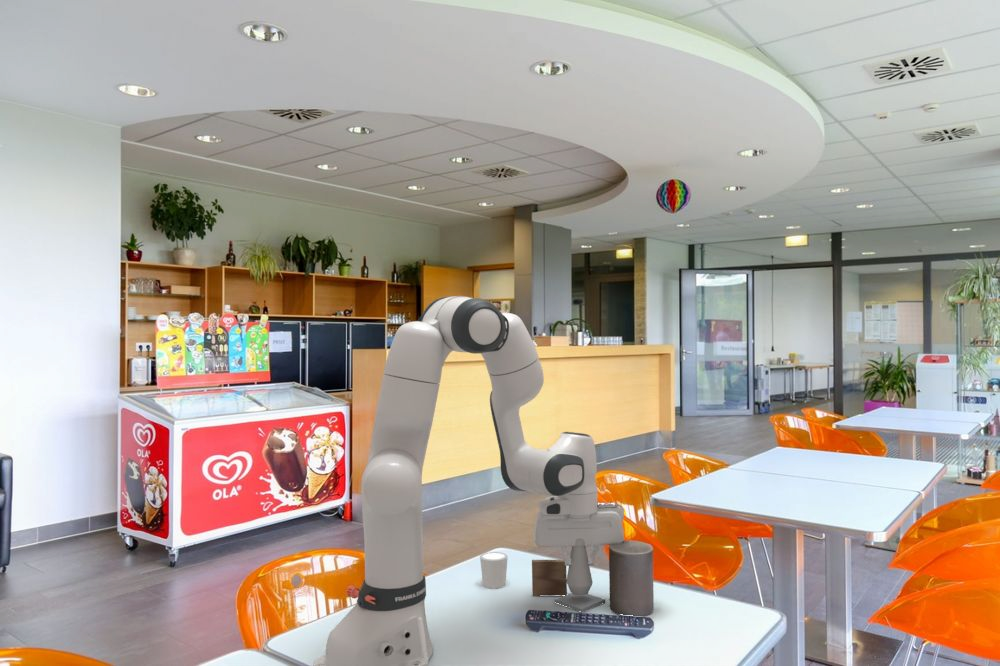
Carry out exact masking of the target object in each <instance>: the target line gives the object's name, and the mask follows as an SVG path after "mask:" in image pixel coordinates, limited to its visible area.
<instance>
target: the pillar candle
mask: <svg viewBox="0 0 1000 666" xmlns="http://www.w3.org/2000/svg"><path fill="white" fill-rule="evenodd" d="M653 550H654V548H653V546H652V545H651V544H649V543H646V542H643V541H638V540H631V539H630V540H624V541H623V543H619V544H610V545H608V569H609V571H608V572H609V573H608V575H609V576H608V577H609V582H608V583H609V599H608V600H609V610H610V611H611V612H613V613H614V614H615V615H618V614H623V615H633V616H643V617H646V616H651V614H652V613H653V611H654V607H655V606H654V605H655V604H654V603H655V602H654V601H655V600H654V598H655V597H654V595H655V594H654V551H653Z"/></svg>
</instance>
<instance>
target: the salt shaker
mask: <svg viewBox="0 0 1000 666" xmlns="http://www.w3.org/2000/svg"><path fill="white" fill-rule="evenodd" d="M587 555H588V553H587V546H585V542H584V539H581V538H579V539H576V541H575V546H571V550H570V555H569V556H570V557H571V559H572V561H571V563H572V564H571V566H568V568H567V569H568V570H567V573H566V574H567V588H568V590H569V591H570V593H572V594H573V595H580V596H582V595H586V594H589V593H590V590H591V588H592V586H593V577H592V573H591V568H590V565H588V559H587Z"/></svg>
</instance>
